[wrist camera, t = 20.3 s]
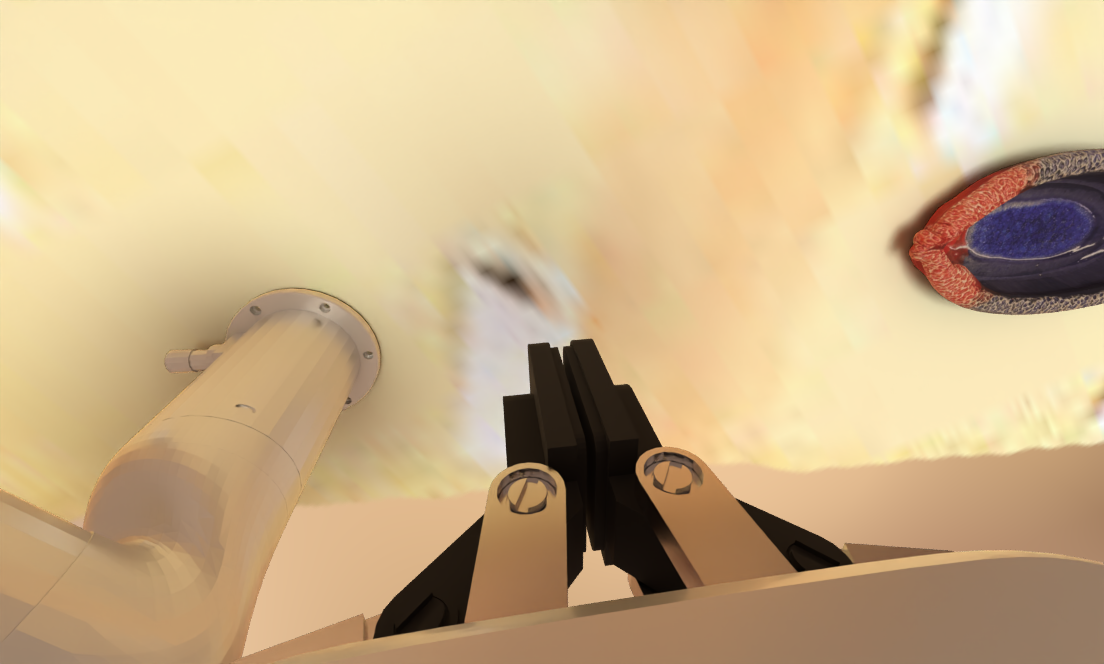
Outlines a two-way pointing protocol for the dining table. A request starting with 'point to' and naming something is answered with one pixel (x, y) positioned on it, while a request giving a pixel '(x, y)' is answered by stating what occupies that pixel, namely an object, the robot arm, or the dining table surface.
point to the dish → (1021, 238)
